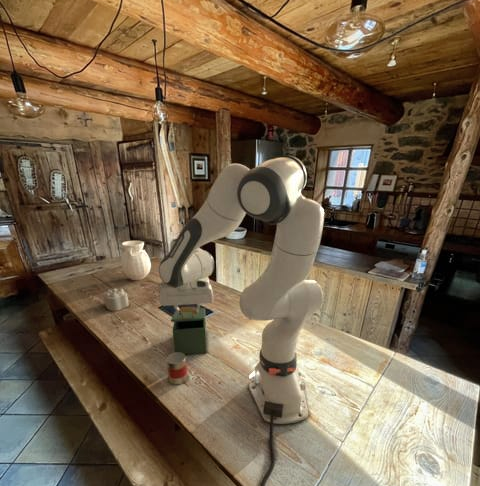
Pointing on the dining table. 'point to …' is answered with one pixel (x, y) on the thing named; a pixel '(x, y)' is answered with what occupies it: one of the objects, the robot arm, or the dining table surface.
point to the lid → (189, 315)
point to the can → (177, 368)
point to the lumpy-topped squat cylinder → (116, 299)
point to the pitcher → (135, 260)
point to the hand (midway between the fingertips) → (188, 313)
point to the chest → (190, 337)
